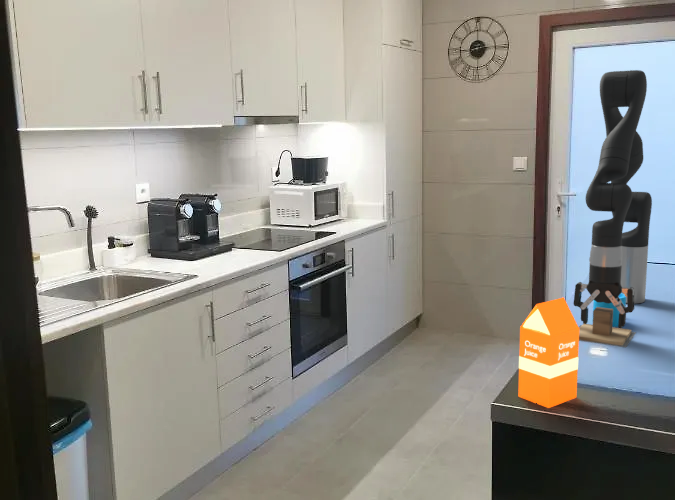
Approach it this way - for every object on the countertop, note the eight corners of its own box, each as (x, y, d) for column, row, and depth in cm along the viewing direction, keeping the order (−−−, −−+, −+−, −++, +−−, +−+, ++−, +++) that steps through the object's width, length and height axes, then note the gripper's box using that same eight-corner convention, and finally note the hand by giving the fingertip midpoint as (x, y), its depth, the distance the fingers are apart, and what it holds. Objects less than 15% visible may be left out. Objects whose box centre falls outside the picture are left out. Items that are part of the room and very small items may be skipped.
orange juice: (577, 397, 140) (581, 300, 137) (548, 408, 135) (552, 308, 132) (545, 386, 147) (548, 293, 143) (517, 396, 142) (519, 300, 138)
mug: (620, 330, 185) (622, 300, 183) (589, 325, 189) (590, 296, 188) (630, 319, 194) (632, 290, 193) (600, 315, 199) (601, 287, 197)
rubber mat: (580, 326, 188) (580, 325, 188) (636, 333, 181) (636, 332, 181) (566, 340, 177) (567, 338, 176) (625, 348, 169) (626, 347, 169)
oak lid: (583, 326, 187) (584, 301, 186) (631, 332, 180) (632, 307, 179) (572, 338, 177) (573, 312, 176) (622, 345, 170) (623, 318, 169)
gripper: (638, 262, 175) (635, 325, 177) (580, 257, 182) (577, 318, 185) (633, 268, 168) (629, 333, 171) (572, 262, 176) (570, 325, 179)
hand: (602, 325), depth 178 cm, fingers open, 8 cm apart
